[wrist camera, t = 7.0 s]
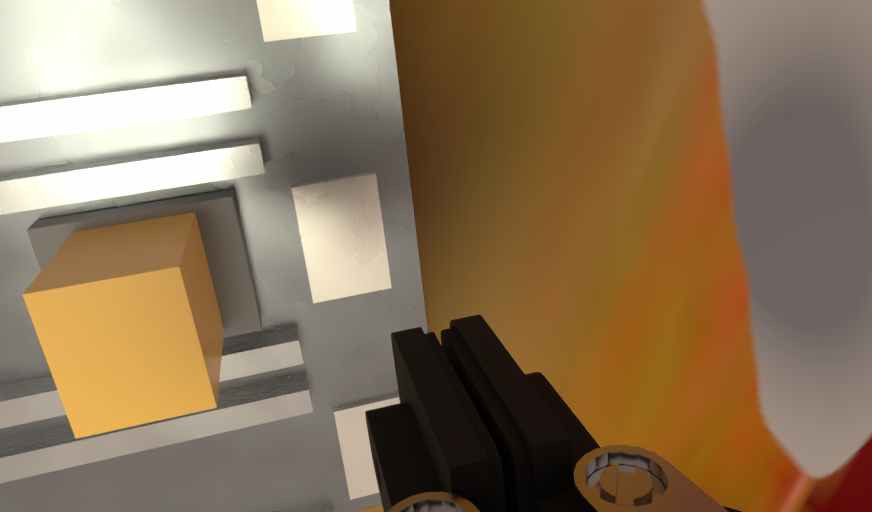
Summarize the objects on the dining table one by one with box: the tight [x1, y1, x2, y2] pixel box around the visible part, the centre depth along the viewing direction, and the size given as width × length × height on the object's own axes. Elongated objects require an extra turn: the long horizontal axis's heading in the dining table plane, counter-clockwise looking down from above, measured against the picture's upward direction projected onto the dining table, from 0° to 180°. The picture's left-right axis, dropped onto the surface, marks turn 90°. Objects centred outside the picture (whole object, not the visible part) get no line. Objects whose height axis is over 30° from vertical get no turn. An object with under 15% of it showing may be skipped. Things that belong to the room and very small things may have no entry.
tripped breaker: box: [22, 189, 262, 439], centre depth 16 cm, size 4×5×5 cm
